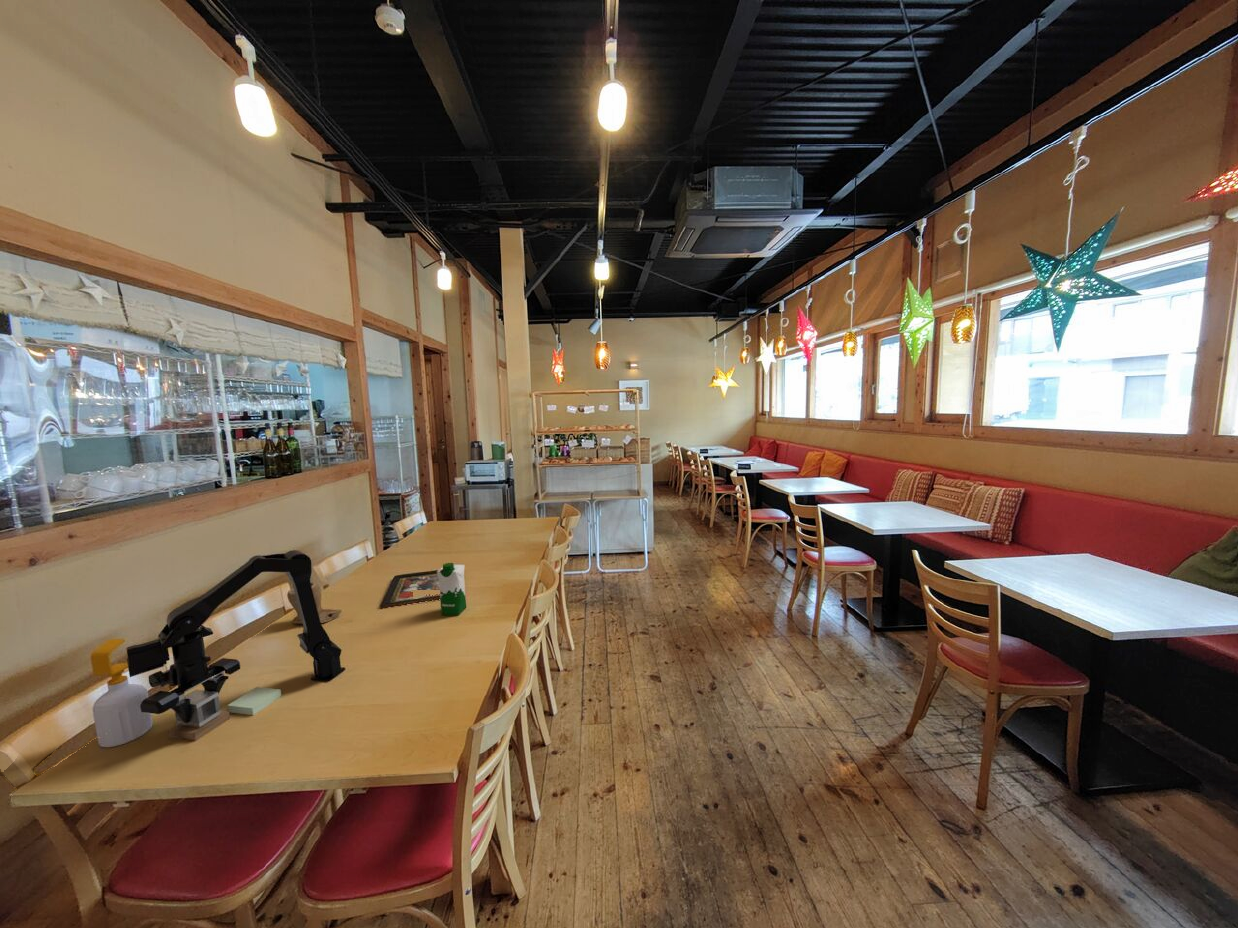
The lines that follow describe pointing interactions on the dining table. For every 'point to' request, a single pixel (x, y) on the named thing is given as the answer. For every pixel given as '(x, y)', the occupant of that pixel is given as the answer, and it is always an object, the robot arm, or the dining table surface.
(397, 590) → the religious icon
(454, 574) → the milk carton
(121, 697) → the soap bottle
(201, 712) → the housing
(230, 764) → the dining table surface
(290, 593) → the stone cup
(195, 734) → the stand walnut
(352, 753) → the dining table surface
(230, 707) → the stand green
